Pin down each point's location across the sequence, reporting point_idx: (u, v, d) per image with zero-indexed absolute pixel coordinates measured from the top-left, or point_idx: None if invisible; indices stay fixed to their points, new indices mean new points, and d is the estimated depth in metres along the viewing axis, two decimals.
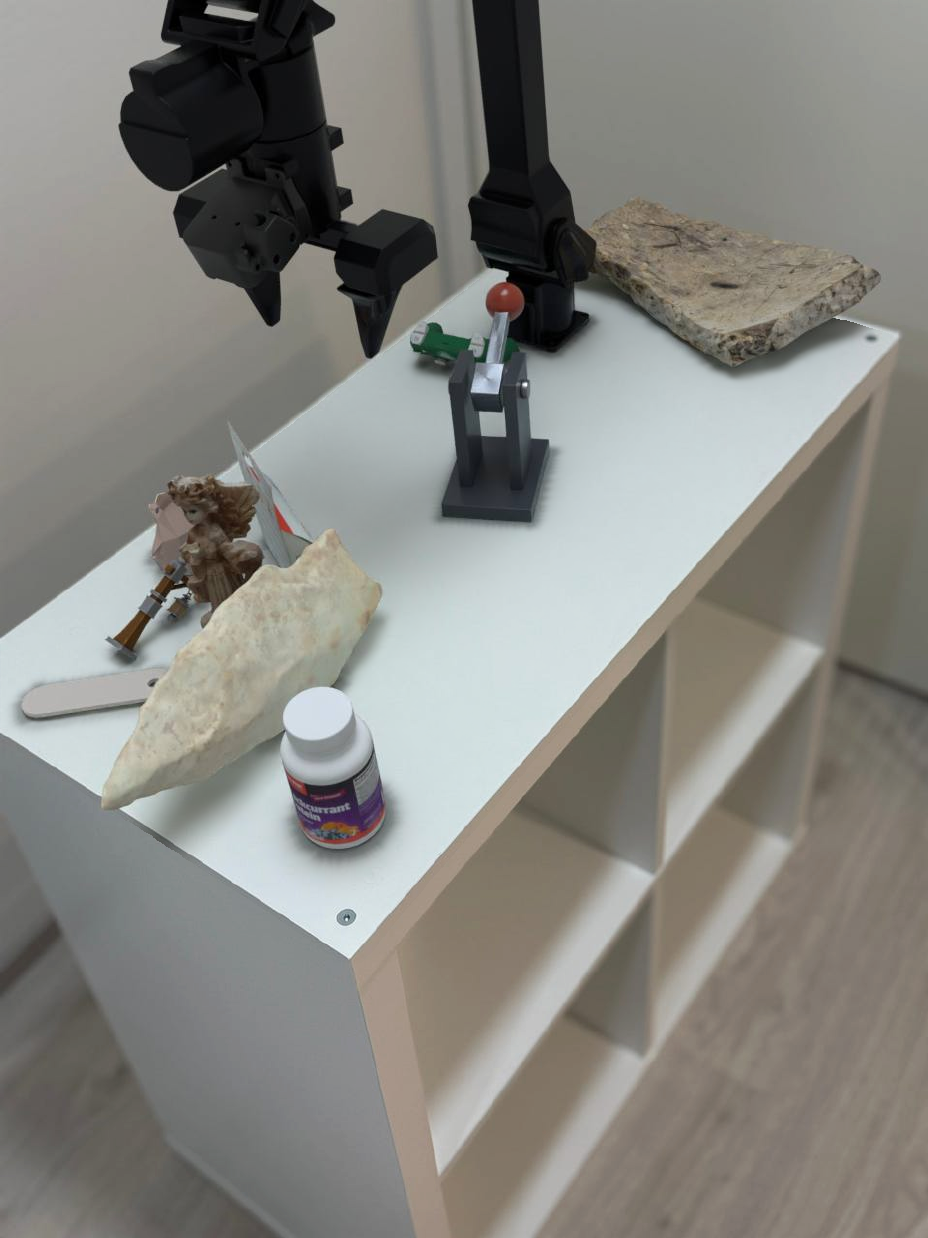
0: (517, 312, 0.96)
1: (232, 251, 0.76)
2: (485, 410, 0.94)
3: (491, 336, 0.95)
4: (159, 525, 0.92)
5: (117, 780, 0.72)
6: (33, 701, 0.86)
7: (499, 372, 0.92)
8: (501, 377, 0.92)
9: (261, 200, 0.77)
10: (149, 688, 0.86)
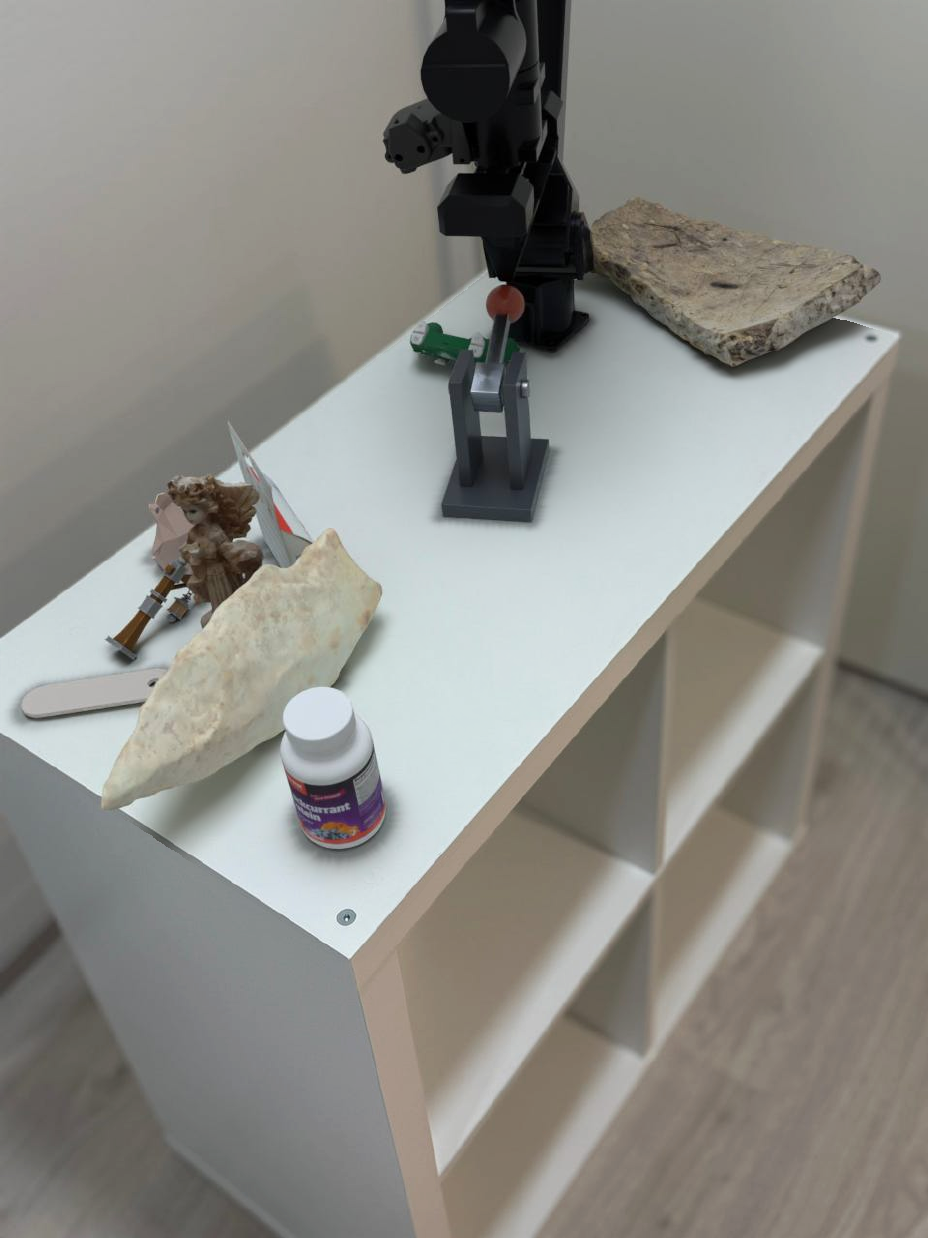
0: (517, 314, 0.96)
1: (385, 134, 0.90)
2: (485, 410, 0.93)
3: (491, 338, 0.95)
4: (159, 525, 0.92)
5: (117, 780, 0.72)
6: (33, 701, 0.86)
7: (499, 372, 0.92)
8: (501, 377, 0.92)
9: (437, 111, 0.89)
10: (149, 688, 0.86)
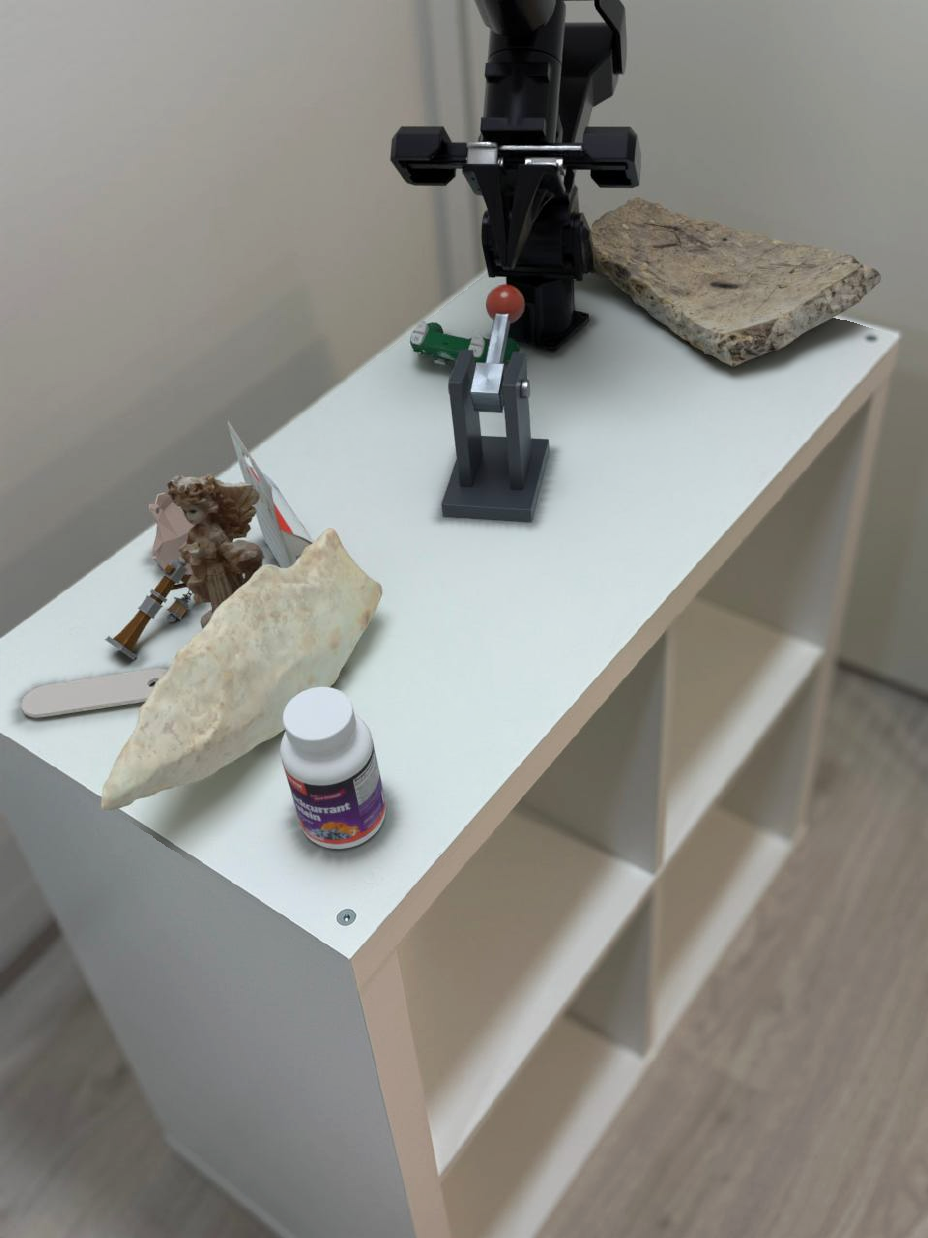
0: (517, 314, 0.96)
1: None
2: (485, 410, 0.93)
3: (491, 338, 0.95)
4: (159, 525, 0.92)
5: (117, 780, 0.72)
6: (33, 701, 0.86)
7: (499, 372, 0.92)
8: (501, 377, 0.92)
9: None
10: (149, 688, 0.86)
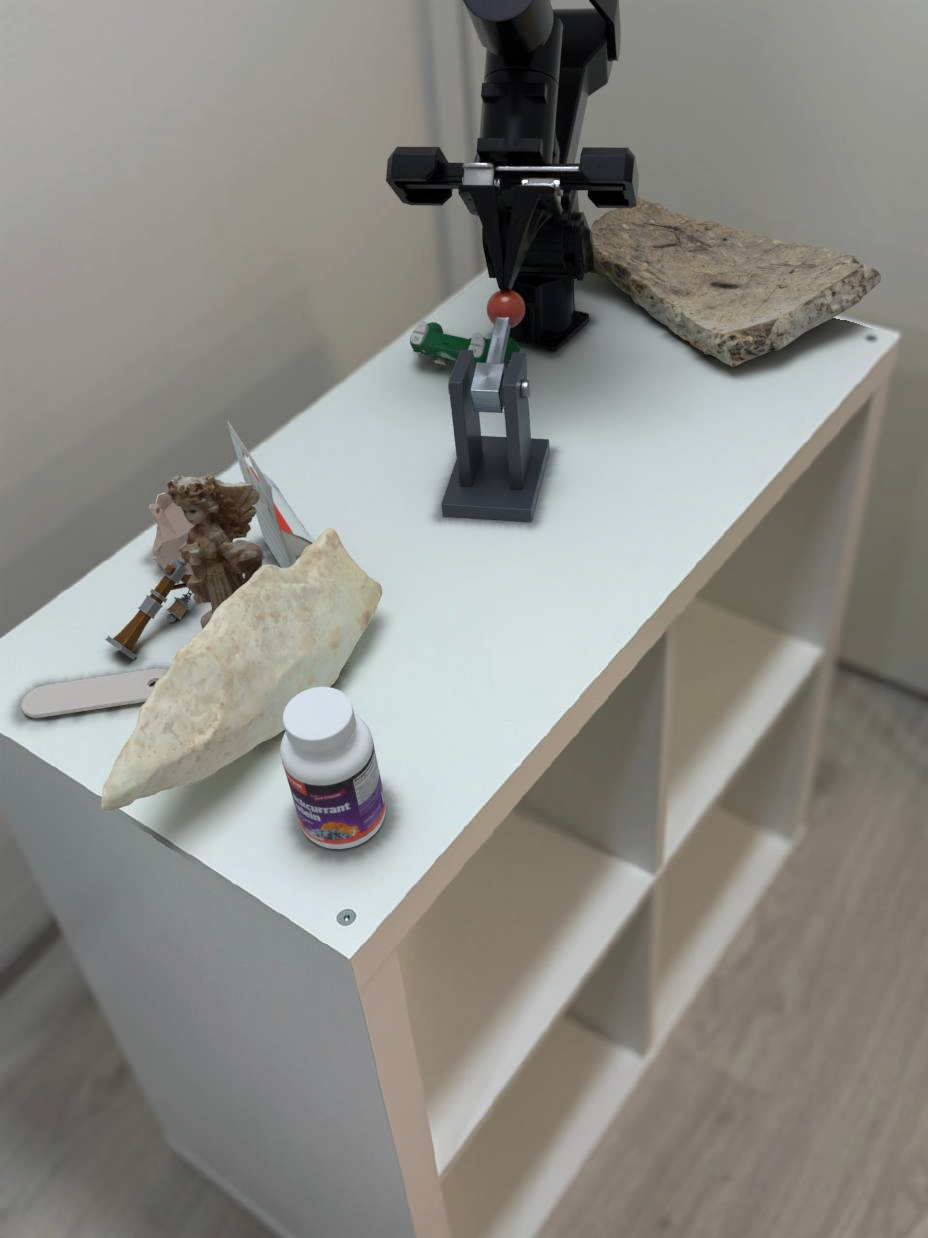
0: (518, 318, 0.96)
1: None
2: (485, 410, 0.93)
3: (491, 339, 0.95)
4: (160, 525, 0.92)
5: (117, 780, 0.72)
6: (33, 701, 0.86)
7: (499, 371, 0.92)
8: (501, 376, 0.92)
9: None
10: (149, 688, 0.86)
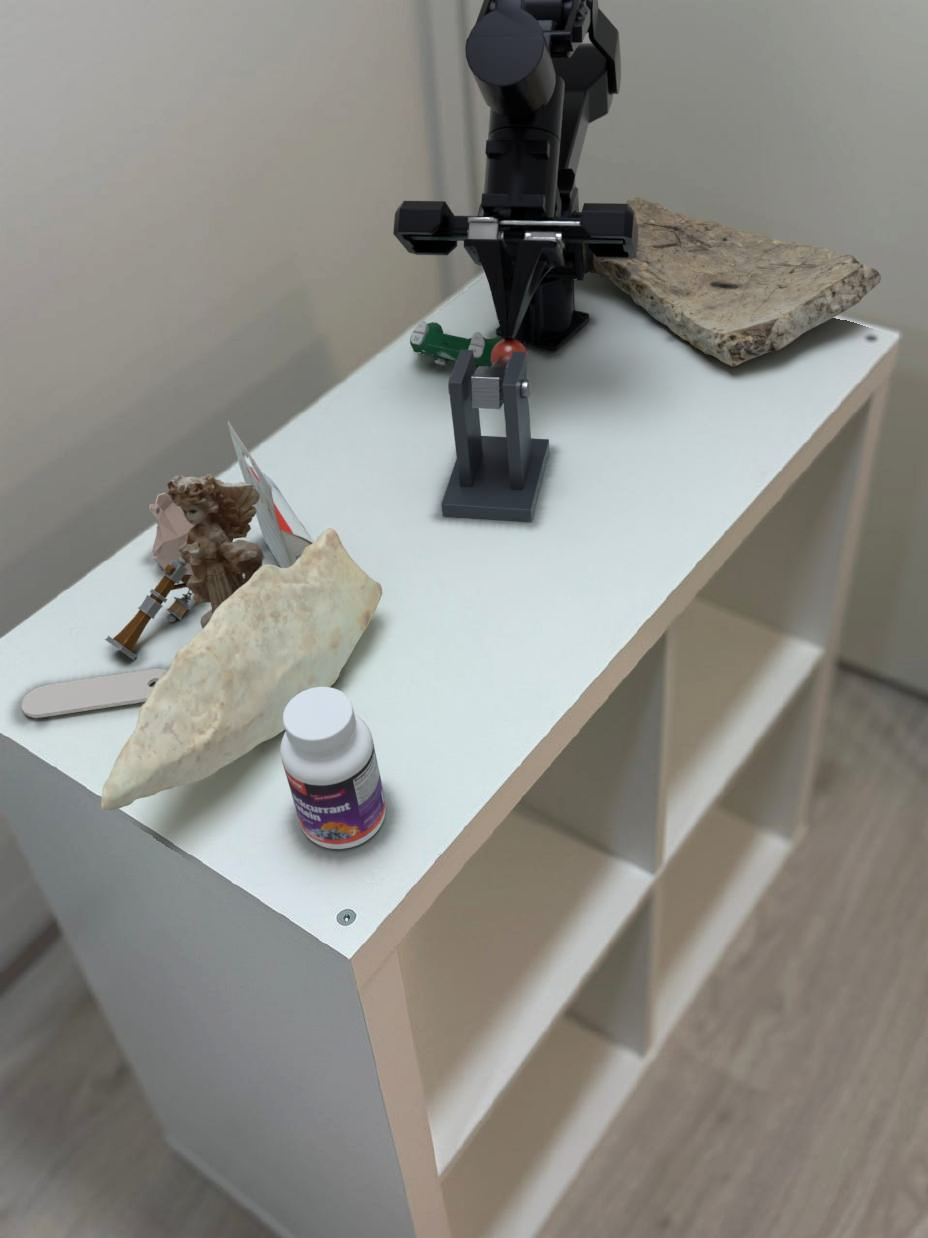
0: None
1: None
2: (482, 405, 0.92)
3: (494, 364, 0.97)
4: (160, 525, 0.92)
5: (117, 780, 0.72)
6: (33, 701, 0.86)
7: (501, 370, 0.93)
8: (503, 372, 0.93)
9: None
10: (149, 688, 0.86)
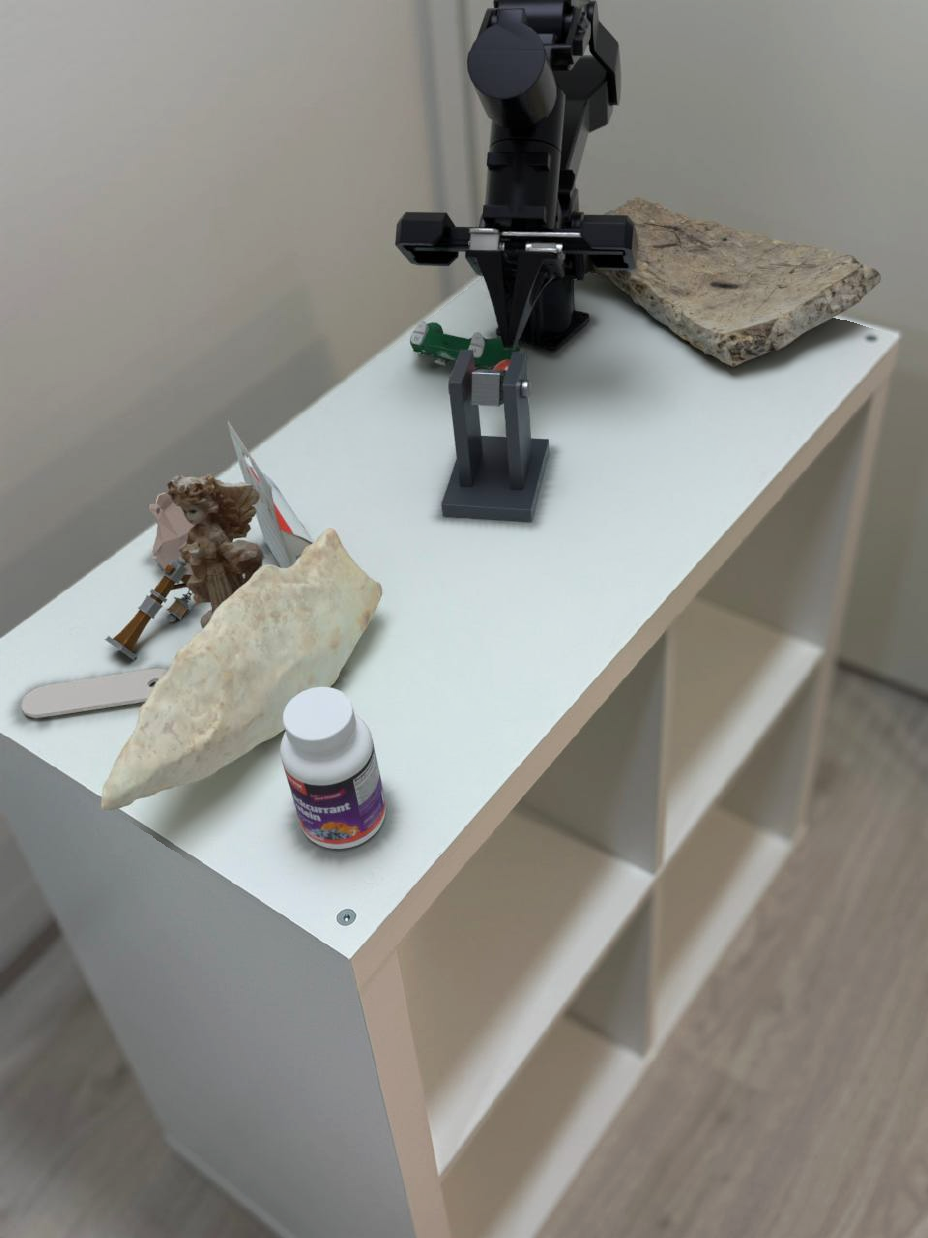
0: None
1: None
2: (482, 402, 0.92)
3: None
4: (160, 525, 0.92)
5: (117, 780, 0.72)
6: (33, 701, 0.86)
7: (502, 371, 0.93)
8: (503, 372, 0.93)
9: None
10: (149, 688, 0.86)
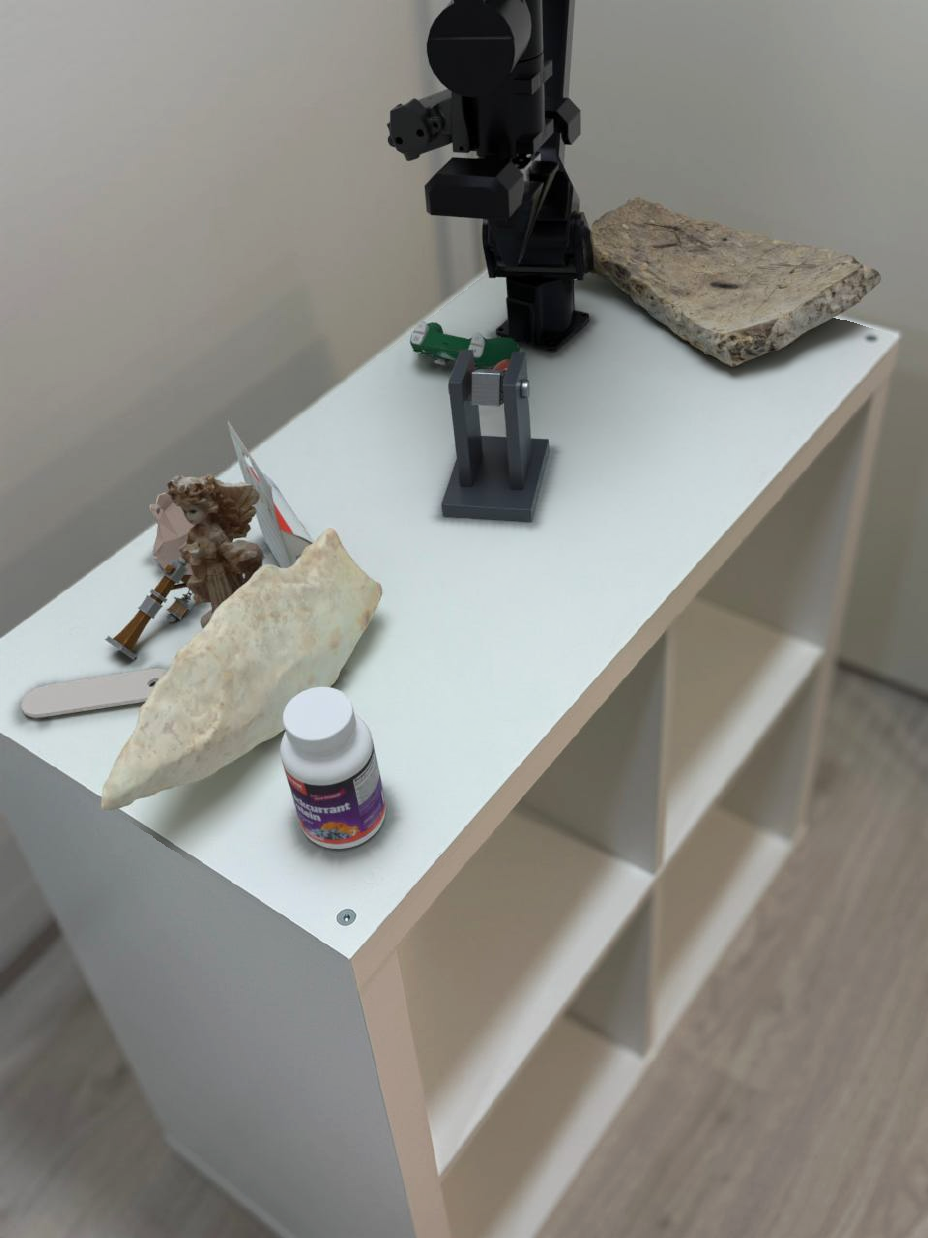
0: None
1: None
2: (482, 402, 0.92)
3: None
4: (160, 525, 0.92)
5: (117, 780, 0.72)
6: (33, 701, 0.86)
7: (502, 371, 0.93)
8: (503, 372, 0.93)
9: (441, 99, 0.90)
10: (149, 688, 0.86)
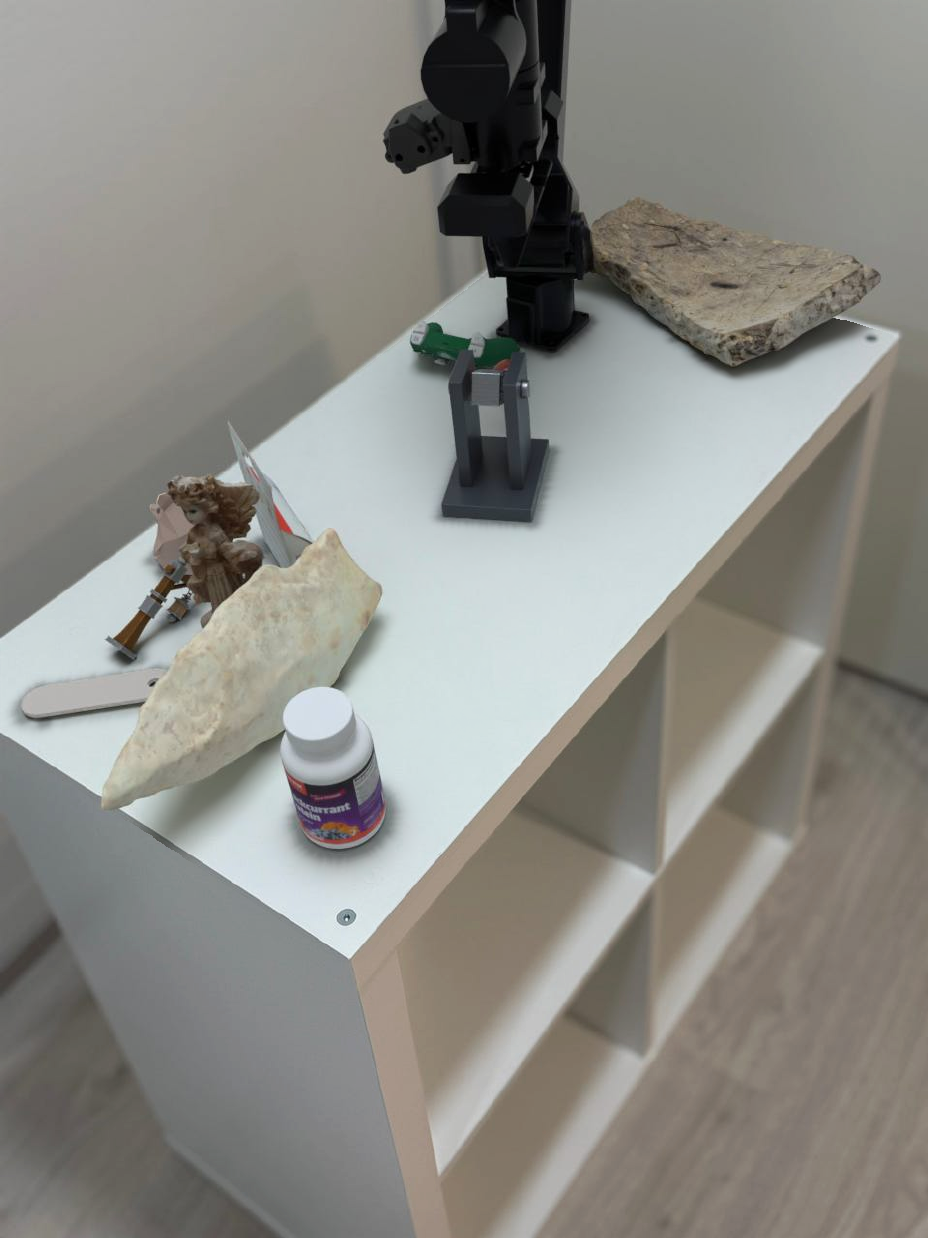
0: None
1: (385, 134, 0.90)
2: (482, 402, 0.92)
3: None
4: (160, 525, 0.92)
5: (117, 780, 0.72)
6: (33, 701, 0.86)
7: (502, 371, 0.93)
8: (503, 372, 0.93)
9: (437, 111, 0.89)
10: (149, 688, 0.86)
